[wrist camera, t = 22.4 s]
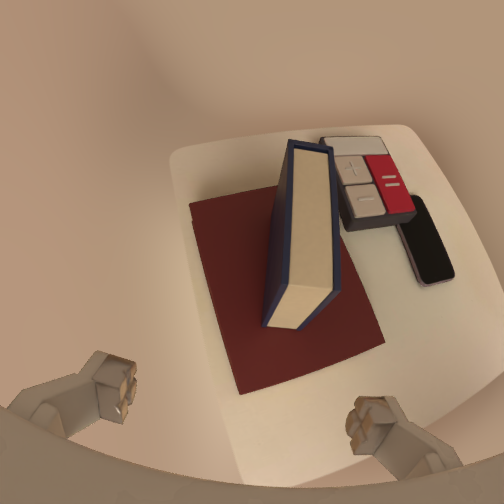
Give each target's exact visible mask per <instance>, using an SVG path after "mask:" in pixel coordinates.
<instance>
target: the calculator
mask: <svg viewBox="0 0 504 504" xmlns="http://www.w3.org/2000/svg"><path fill="white" fill-rule="evenodd" d="M319 144H321V145H327V146H332V147H333V149H334V159H335V169H336V181H337V194H338V209H339V212H340V215H341V218H342V221H343V224H344V227H345V230H346V231H348V232H350V231H357V230H364V229H371V228H378V227H385V226H392V225H398V224H400V223H408V222H409V221H410V220H411V219H412V218H413V217H414V216H415V215H416V214H417V211H416V209H415V206H414V204H413V202H412V199H411V197H410V195H409V193H408V190H407V188H406V186H405V184H404V182H403V180H402V178H401V176H400V174H399V172H398V169H397V167H396V165H395V163H394V161H393V160H392V158H391V156H390V154H389V152H388V150H387V148H386V146H385V144H384V143H383V141H382V139H381V137H379V136H339V137H321V138H320V141H319Z"/></svg>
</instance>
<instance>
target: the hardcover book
mask: <svg viewBox="0 0 504 504" xmlns="http://www.w3.org/2000/svg"><path fill="white" fill-rule="evenodd" d="M340 292H341V252H340V227H339V209H338V194H337V181H336V169H335V159H334V149H333V147H332V146H327V145H321V144H316V143H310V142H304V141H298V140H292V139H288V143H287V148H286V152H285V157H284V161H283V165H282V170H281V174H280V179H279V183H278V187H277V192H276V196H275V200H274V205H273V209H272V213H271V223H270V234H269V246H268V257H267V269H266V280H265V291H264V301H263V312H262V322H261V327H265V328H266V326H270V327H280V328H291V329H296V330H297V331H301V330H302V329H303V328H304V327H305V326H306V325H307V324H308V323H309V322H310V321H312V320H313V319H314V318H315V317H316V316H317V315H318V314H319V313H320V312H321V311H322V310H323V309H324V308H325V307H326V306H327V305H328V304H329V303H330V302H331V301H332V300H333V299H334V298H335V297H336V296H337V295H338V294H339V293H340Z"/></svg>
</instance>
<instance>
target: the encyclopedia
mask: <svg viewBox="0 0 504 504" xmlns="http://www.w3.org/2000/svg"><path fill="white" fill-rule="evenodd" d="M277 187H278V185H277V186H272V187H266V188H261V189H256V190H250V191H245V192H240V193H235V194H230V195H226V196H221V197H216V198H211V199H207V200H202V201H198V202H193V203H189V207H190V211H191V216H192V220H193V221H192V225H193V229H194V233H195V237H196V241H197V245H198V249H199V253H200V257H201V261H202V265H203V269H204V273H205V277H206V281H207V284H208V288H209V292H210V295H211V299H212V303H213V306H214V310H215V314H216V317H217V321H218V324H219V328H220V331H221V335H222V338H223V342H224V345H225V349H226V352H227V355H228V359H229V362H230V365H231V369H232V372H233V375H234V378H235V382H236V385H237V388H238V391H239V394H240V395H243V394H246V393H250V392H253V391H257V390H260V389H263V388H266V387H270V386H273V385H276V384H279V383H282V382H285V381H288V380H291V379H294V378H297V377H300V376H303V375H306V374H309V373H311V372H314V371H317V370H320V369H322V368H325V367H328V366H330V365H333V364H335V363H338V362H341V361H343V360H346V359H348V358H350V357H353V356H355V355H358V354H360V353H363V352H365V351H367V350H370V349H372V348H374V347H376V346H379V345H381V344H383V343H385V340H384V337H383V334H382V332H381V329H380V327H379V324H378V321H377V319H376V316H375V314H374V311H373V309H372V306H371V304H370V302H369V299H368V297H367V294H366V292H365V290H364V287H363V285H362V282H361V280H360V278H359V276H358V273H357V271H356V269H355V266H354V264H353V262H352V260H351V257H350V255H349V253H348V251H347V249H346V246H345V244H344V242H343V240H342V238H341V236H340V252H341V292H340V293H339V294H338V295H337V296H336V297H335V298H334V299H333V300H332V301H331V302H330V303H329V304H328V305H327V306H326V307H325V308H324V309H323V310H322V311H321V312H320V313H319V314H318V315H317V316H316V317H315V318H314V319H313V320H312V321H310V322H309V323H308V324H307V325H306V326H305V327H304V328H303V329H302V330H301V331H297V330H296V329H291V328H280V327H270V326H266V328H265V327H261V322H262V312H263V301H264V291H265V280H266V269H267V257H268V246H269V234H270V223H271V213H272V209H273V205H274V200H275V196H276V192H277Z"/></svg>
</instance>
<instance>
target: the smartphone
mask: <svg viewBox="0 0 504 504" xmlns="http://www.w3.org/2000/svg"><path fill="white" fill-rule="evenodd" d="M410 197H411V199H412V202H413V204H414V206H415V209H416V211H417V214H416V215H415V216H414V217H413V218H412V219H411V220H410V221H409V222H408V223H400V224H398V225H396V226H397V229H398V231H399V233H400V236H401V238H402V241H403V243H404V245H405V248H406V251H407V253H408V256H409V258H410V261H411V263H412V266H413V269H414V271H415V274H416V277H417V280H418V282H419V283H420V285H422V286H424V287H427V286H431V285H435V284H439V283H443V282H447V281H450V280H452V279H453V278H454V277H455V272H454V269H453V266H452V264H451V261H450V259H449V256H448V254H447V252H446V249H445V247H444V245H443V242H442V240H441V238H440V236H439V233H438V231H437V229H436V227H435V225H434V222H433V220H432V218H431V216H430V214H429V212H428V210H427V208H426V206H425V204H424V202H423V200H422V199H421V198H420V197H419V196H417V195H410Z"/></svg>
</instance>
